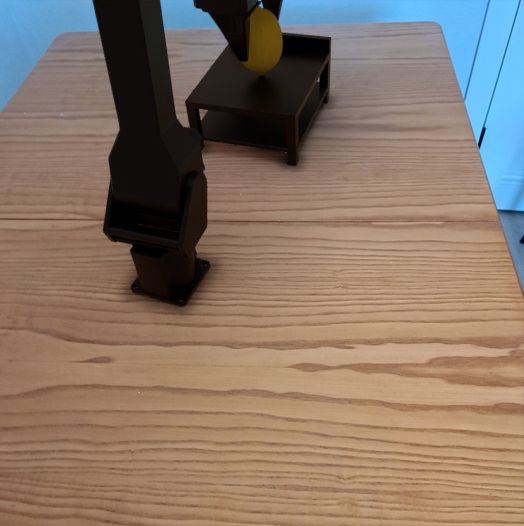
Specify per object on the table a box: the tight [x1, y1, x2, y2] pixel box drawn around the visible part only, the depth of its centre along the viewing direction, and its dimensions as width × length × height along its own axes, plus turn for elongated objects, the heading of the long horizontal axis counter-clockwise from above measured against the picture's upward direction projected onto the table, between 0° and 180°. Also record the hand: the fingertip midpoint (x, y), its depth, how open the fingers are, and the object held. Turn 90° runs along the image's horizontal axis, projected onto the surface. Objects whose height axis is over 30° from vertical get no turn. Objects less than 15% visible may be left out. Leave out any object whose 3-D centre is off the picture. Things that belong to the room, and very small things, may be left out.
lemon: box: [242, 5, 283, 75], centre depth 69 cm, size 6×6×8 cm
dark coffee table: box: [184, 31, 332, 167], centre depth 74 cm, size 16×14×8 cm
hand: (259, 42), depth 69 cm, fingers open, 9 cm apart
